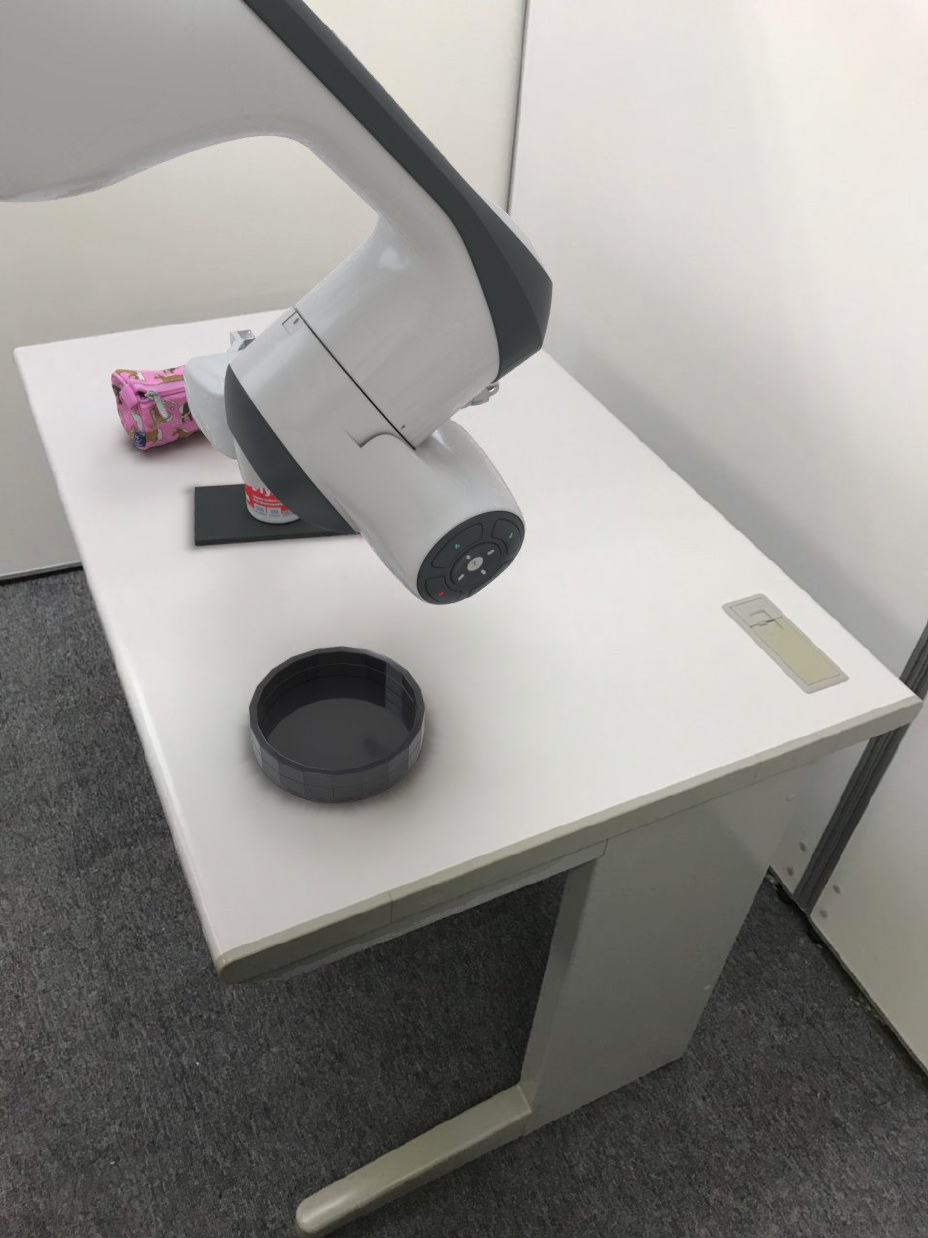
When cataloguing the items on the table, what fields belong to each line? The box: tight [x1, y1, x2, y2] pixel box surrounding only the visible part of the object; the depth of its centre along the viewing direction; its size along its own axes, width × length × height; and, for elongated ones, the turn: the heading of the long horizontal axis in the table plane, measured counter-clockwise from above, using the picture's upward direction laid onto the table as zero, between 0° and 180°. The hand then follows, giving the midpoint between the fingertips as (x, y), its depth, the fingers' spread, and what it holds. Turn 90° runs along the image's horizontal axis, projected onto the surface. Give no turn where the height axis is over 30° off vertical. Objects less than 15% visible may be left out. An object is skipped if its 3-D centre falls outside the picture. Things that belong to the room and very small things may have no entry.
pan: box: [248, 645, 426, 803], centre depth 75 cm, size 13×13×3 cm
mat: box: [194, 483, 361, 546], centre depth 97 cm, size 16×9×1 cm, turn 101°
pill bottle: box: [244, 483, 299, 523], centre depth 93 cm, size 6×6×11 cm
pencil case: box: [110, 364, 202, 451], centre depth 105 cm, size 21×9×9 cm, turn 121°
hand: (302, 330), depth 72 cm, fingers open, 8 cm apart
